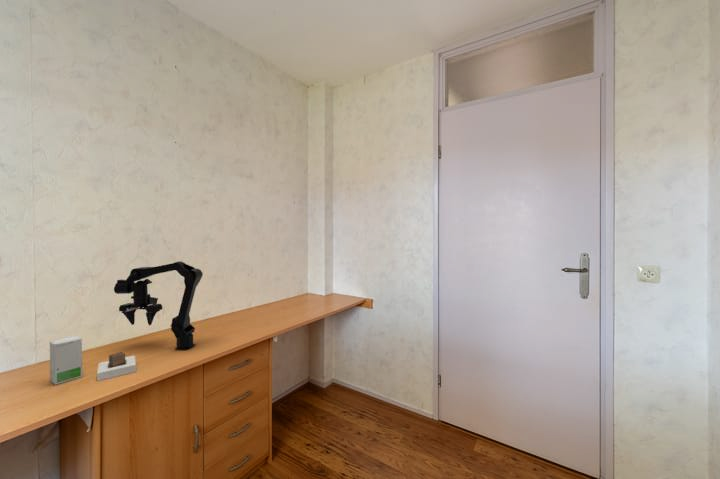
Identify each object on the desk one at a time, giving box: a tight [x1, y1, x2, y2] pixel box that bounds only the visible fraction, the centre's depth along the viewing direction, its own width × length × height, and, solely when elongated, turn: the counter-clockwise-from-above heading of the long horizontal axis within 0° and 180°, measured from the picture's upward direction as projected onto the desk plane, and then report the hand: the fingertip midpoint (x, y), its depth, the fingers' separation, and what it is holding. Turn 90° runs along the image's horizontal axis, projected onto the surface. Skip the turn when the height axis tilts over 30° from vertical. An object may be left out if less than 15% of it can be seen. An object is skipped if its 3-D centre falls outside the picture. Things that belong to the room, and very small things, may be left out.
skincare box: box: [49, 335, 83, 386], centre depth 118 cm, size 8×7×16 cm
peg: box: [108, 351, 126, 368], centre depth 124 cm, size 4×4×7 cm
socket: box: [96, 354, 137, 382], centre depth 124 cm, size 12×12×3 cm
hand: (141, 324), depth 147 cm, fingers open, 9 cm apart
